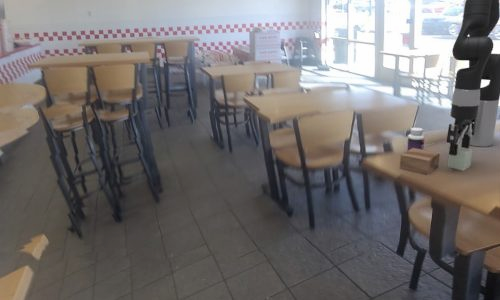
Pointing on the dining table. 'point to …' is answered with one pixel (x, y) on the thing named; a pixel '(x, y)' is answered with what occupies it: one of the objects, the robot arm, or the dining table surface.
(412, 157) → the walnut block
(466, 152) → the sage cube
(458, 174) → the dining table surface
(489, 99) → the robot arm
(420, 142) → the pill bottle
